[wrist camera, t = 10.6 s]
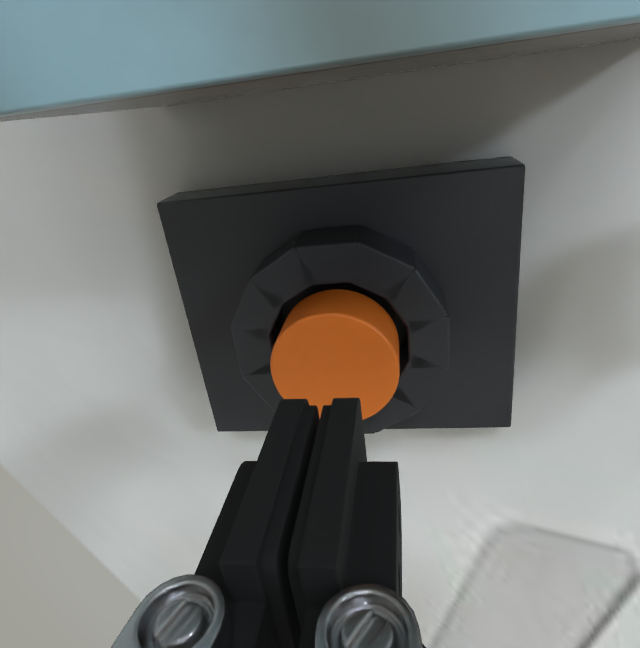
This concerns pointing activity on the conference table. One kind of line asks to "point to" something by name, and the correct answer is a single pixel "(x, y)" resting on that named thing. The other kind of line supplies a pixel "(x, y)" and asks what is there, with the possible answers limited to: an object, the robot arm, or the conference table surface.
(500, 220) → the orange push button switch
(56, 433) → the conference table surface
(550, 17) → the hatch
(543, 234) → the conference table surface
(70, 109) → the brown open boxy piece
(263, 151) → the conference table surface
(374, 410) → the button
